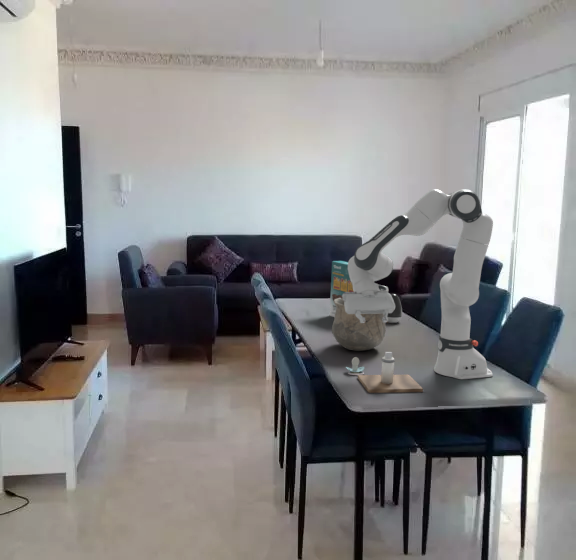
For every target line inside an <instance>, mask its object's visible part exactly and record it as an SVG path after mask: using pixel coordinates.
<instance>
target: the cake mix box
mask: <svg viewBox="0 0 576 560" xmlns="http://www.w3.org/2000/svg"><path fill="white" fill-rule="evenodd" d="M348 262H349V261H345V260H333V261H332V260H331V276H330V277H331V279H330V280H331V282H330V299H329V300H330V301H329V317H332V318H334V317H335V312H336V305H335V304H334V300H335V299H337V298H341V299H342V295H343V293H345V292H354V291H353V284H352V282H351V280H350V277H349V272H348Z"/></svg>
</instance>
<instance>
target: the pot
mask: <svg viewBox="0 0 576 560" xmlns="http://www.w3.org/2000/svg"><path fill="white" fill-rule="evenodd" d="M334 304H335V305H336V312H335V317H333V322H332V327H331V333H332V336H333V337H334V339H335V340H336V342H337V343H338V344H339V345H341V346H342V347H343V348H345V349H346V350H350V351H355V352H364V351H369V350H372V349H375V348H376V347H378V346H379V345H381V344H382V342H383V341H384V339H385V335H386V332H387V331H386V330H387V329H386V328H387V327H386V322H383V321H382V318H383V317H384V316H385V315H383V313H378V314H361V316H362V317H365V320H366V321H365V323H360V320H359V319H358V318H357V317H356V315H355V314H347V313H346V311H345V306H344V300H343V298H342V299H341V298H337V299H335V300H334Z"/></svg>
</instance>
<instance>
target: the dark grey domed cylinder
mask: <svg viewBox="0 0 576 560" xmlns="http://www.w3.org/2000/svg"><path fill="white" fill-rule="evenodd" d="M389 294H390V295H391V296H392V298H393V301H394V303H395V309H394V311H393V312H392V313H388V316H387V318H388V321H387V322H386V323H389V324H396V323H398V322H400V321H401V319H402V317H403V308H402V303H401V299H400V297H399V296H398V294H396V293H389Z"/></svg>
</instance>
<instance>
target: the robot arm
mask: <svg viewBox="0 0 576 560" xmlns="http://www.w3.org/2000/svg"><path fill="white" fill-rule="evenodd" d="M445 215H449V216H451V217H454V218H457V219H459V220H461V222H462V230H461V234H460V237H459V239H458V242H457V246H456V249H455V252H454V255H453V267H452V272H449V273H447V274H444V275H443V277H441V279H440V281H439V288H440V289H439V290H440V309H441V322H440V323H441V325H440V335H439V336H438V342H437V344H438V345H437V346H438V347H437V348H438V353H437V358H436V362H435V364H434V368H433V371H434V372H435V373H437V374H439V375H442V376H446V377H451V378H454V379H458V380H468V379H470V380H471V379H481V378H490V377H493V372H492V370H490V369H489V368H488V364H487V360H486V358H485V357H484V355H483V354H481V353H480V352H479V351H478V350H477V349H475V348H474V347H478V346H479V342H478V341H477V340H475V339H474V340H473V339H472V338H470V335H471V334H470V333H471V321H472V319H471V318H472V317H471V314H470V306H472V305H474V304H476V303H477V302H478V299H479V297H480V289H479V288H480V282H481V277H482V275H481V274H482V269H483V264H484V261H485V258H486V255H487V251H488V248H489V244H490V242H491V237H492V234H493V228H494V220H493V218H492V217H491V216H490V215H489V214H486V213H484V212H483V210H482V206H481V201H480V198H479V195H477V194H476V193H475V192H474V191H473V190H470V189H459V190H456V191H453V192H451V193H448V194H446V193H445V192H444V191H442V190H440V189H437V188H433V189H431V190H429V191H428V192H426V193H425V194H424V195H423V196H422V197H420V198H419V199H418V200H417V201H416V202H415V203H414V204H413V205H412V207H410V208H409V209H408V210H407V211H406V212H404V213H403V214H401V215H398V216H396V217H395V218H393V219H392V220H391V221H389V223H387V224H385V226H384V227H383V228H381V230H379V231H378V232H377V233H376V234H375V235H373V236H372V237H371V238H370V239H369V240H367V241H365V242H364V243H362V244H360V245H359V247H357V249H356V250H355V252H354V255H353V256H352V257H350V258H349V260H348V261H347V262H348V272H349V277H350V280H351V282H352V284H353V291H354V292H345V293H343V295H342V298H343V300H344V306H345V311H346V313H347V314H355V315H356V317H357V318H358V319H359V320H360V323H365V321H366V320H365V317H362V316H361V314H378V313H383V315H385V316H384V317H383V318H382V321H383V322H385V323H388V322H387V321H388V318H387V316H388V313H392V312H393V311H394V309H395V303H394V301H393V298H392V296H391V295H390V294H391V293H389V287H388V286H387V285H386V286H385V285H381V284H378V283H376V282H377V281H380V280H383V279H386V278H388V277H389V276H390V274H391V273H392V272H393V269H394V261H393V259H392V258H390V257H389V256H388V255H387V254H386V253H385V252H383V250H384V249H385V248H386V247H387V246H388V245H389V244H391V243H392V242H393V241H394V240H395V239H396V238H398V237H400V236H405V235H406V236H413V237H418V236H424V235H425V234H427V233H428V232H430V230H432V228H433V227H434V226H436V224H437V223H438V222H439V220H441V219H442V218H443V217H444V216H445Z"/></svg>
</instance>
